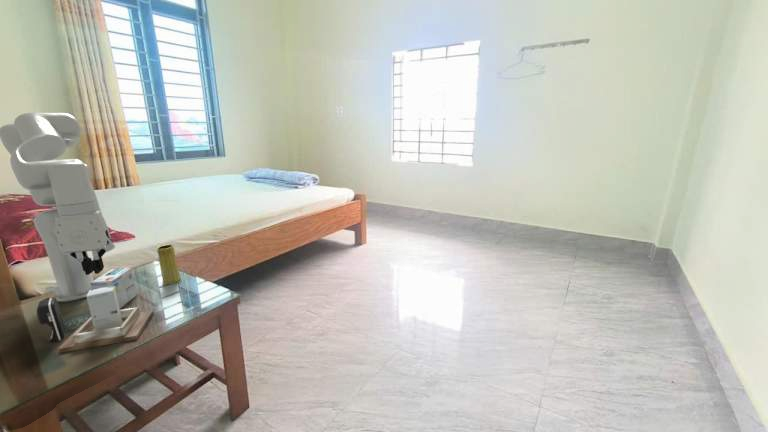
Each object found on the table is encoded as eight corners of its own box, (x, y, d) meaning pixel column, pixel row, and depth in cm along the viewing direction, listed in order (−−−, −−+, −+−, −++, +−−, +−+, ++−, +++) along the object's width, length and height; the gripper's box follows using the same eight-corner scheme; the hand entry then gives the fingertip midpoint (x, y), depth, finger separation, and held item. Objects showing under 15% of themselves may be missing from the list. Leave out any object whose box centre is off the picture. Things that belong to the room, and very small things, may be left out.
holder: (59, 352, 90) (55, 340, 89) (86, 324, 102) (83, 313, 101) (137, 339, 95) (134, 327, 94) (153, 313, 108) (151, 303, 107)
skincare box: (95, 335, 95) (84, 296, 92) (97, 327, 99) (87, 290, 95) (122, 328, 98) (112, 290, 95) (123, 320, 102) (114, 284, 99)
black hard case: (48, 334, 98) (37, 299, 95) (66, 329, 100) (55, 294, 97) (45, 345, 93) (33, 309, 90) (64, 340, 95) (53, 304, 92)
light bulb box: (118, 296, 119) (111, 268, 117) (138, 294, 120) (131, 267, 117) (96, 312, 109) (88, 282, 106) (118, 310, 110) (110, 280, 107)
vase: (184, 279, 131) (177, 245, 127) (167, 286, 126) (160, 250, 122) (176, 276, 134) (169, 242, 131) (159, 282, 129) (152, 247, 126)
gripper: (31, 215, 83) (52, 282, 88) (106, 209, 87) (122, 273, 92) (50, 208, 90) (68, 271, 95) (118, 203, 94) (132, 263, 99)
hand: (94, 272), depth 93 cm, fingers closed
